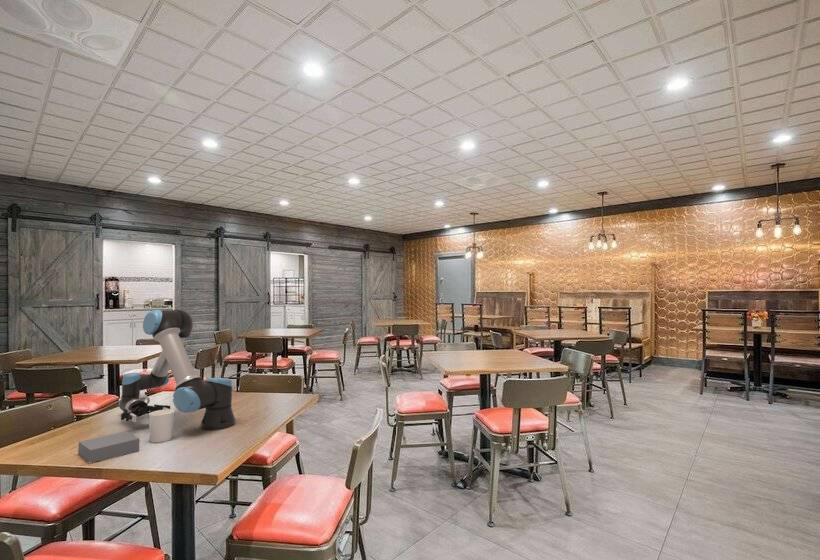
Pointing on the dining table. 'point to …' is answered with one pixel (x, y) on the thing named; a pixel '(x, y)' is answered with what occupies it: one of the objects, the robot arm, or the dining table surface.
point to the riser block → (108, 446)
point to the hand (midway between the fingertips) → (152, 415)
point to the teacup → (143, 398)
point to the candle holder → (161, 425)
